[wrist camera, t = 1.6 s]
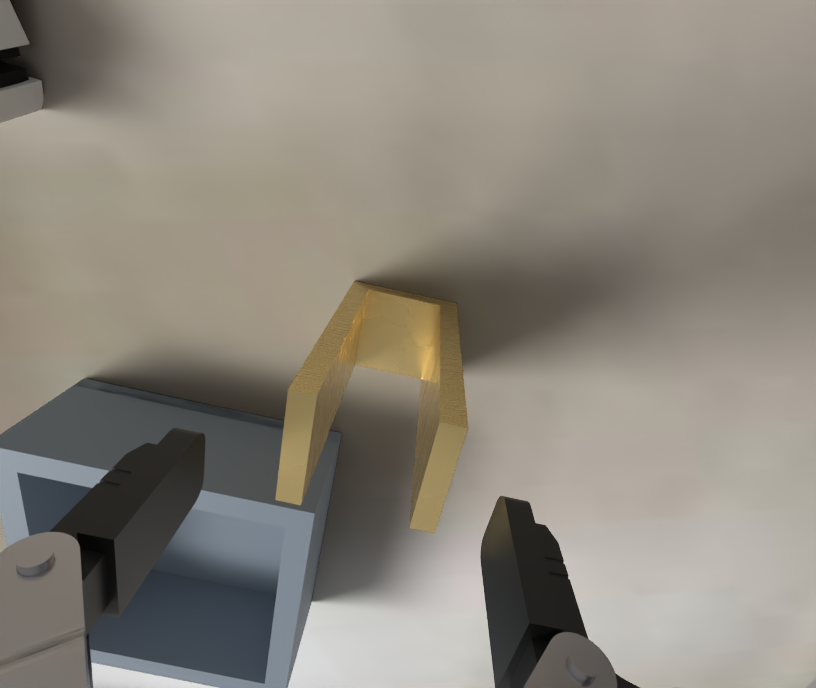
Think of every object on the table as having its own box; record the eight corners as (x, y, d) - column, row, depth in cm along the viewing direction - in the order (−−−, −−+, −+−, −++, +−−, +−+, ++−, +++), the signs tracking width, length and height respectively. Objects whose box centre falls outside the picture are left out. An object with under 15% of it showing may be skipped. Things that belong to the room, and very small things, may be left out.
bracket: (456, 303, 22) (468, 428, 12) (437, 375, 24) (434, 533, 14) (354, 280, 22) (287, 389, 12) (342, 354, 23) (275, 500, 14)
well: (341, 433, 25) (314, 513, 20) (311, 602, 31) (283, 700, 26) (84, 378, 25) (-16, 445, 20) (102, 560, 31) (30, 650, 26)
